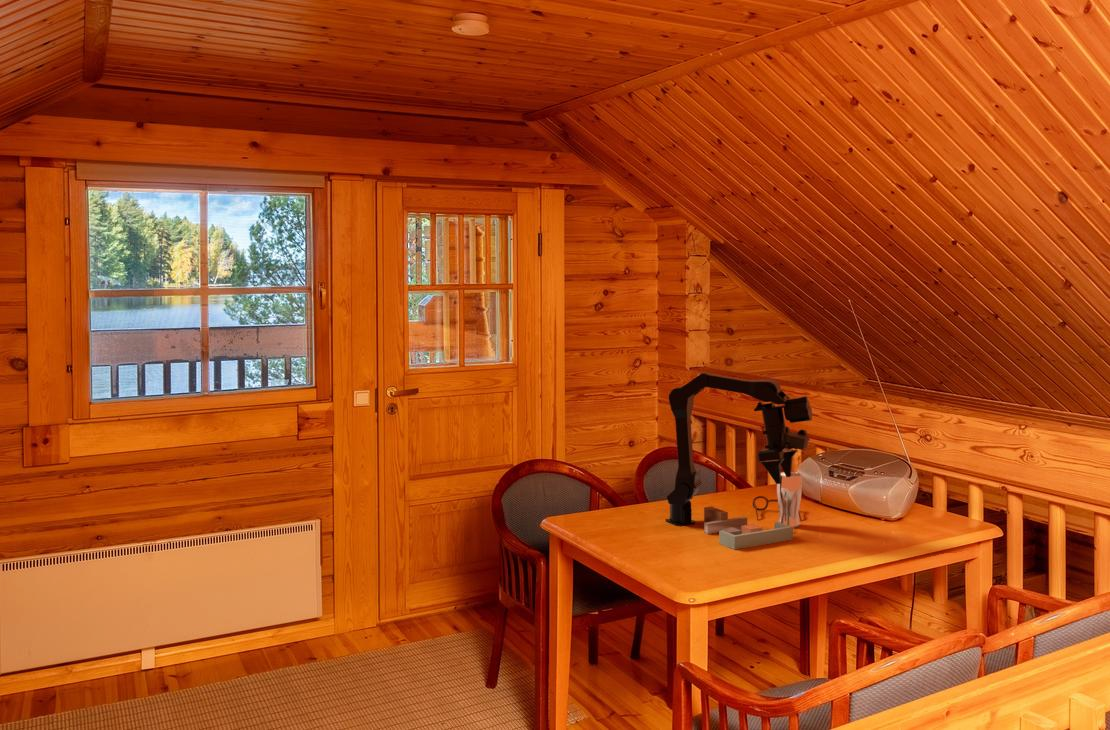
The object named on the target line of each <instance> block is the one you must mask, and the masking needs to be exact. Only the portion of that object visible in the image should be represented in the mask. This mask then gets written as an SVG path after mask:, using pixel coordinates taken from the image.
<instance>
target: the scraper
mask: <svg viewBox="0 0 1110 730" xmlns="http://www.w3.org/2000/svg"><path fill="white" fill-rule="evenodd" d="M703 509H704V510H703V511H704V513H703V515H704V516H703V520H704V521H703V526H704V527H703V532H704V534H705V535H712V533H713V534H718V533H717V532H719V531H721V529H725V528H732V527H733V528H736V529H739V530H741V526H744V525H748V517H746V516H740V517H734V518H729V516H728V515H729V513H728V511H725V510H723V509H720V508H716V507H714V506H705V507H704V508H703Z"/></svg>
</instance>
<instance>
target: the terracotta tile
mask: <svg viewBox="0 0 1110 730" xmlns="http://www.w3.org/2000/svg"><path fill="white" fill-rule="evenodd" d="M740 530H742V534H746V533H752V532H758V531H763V527H762V526H760V525H758V524H757V525H756V524H754V523H752V524H747V525H744V526H741V529H740Z"/></svg>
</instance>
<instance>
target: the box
mask: <svg viewBox="0 0 1110 730" xmlns="http://www.w3.org/2000/svg"><path fill="white" fill-rule="evenodd" d="M773 523H774V527H773V529H772V528H771V529H766V530H762V531H758V532H752V533H746V534H740V535H733V534H731V533H728V532H725V531H719V533H718V535H719V536H718V543H719V544H720V545H721V546H724V547H727V548H729V549H732V550H734V551H735V550H740V549H747V548H752V547H758V546H763V545H764V546H765V545H770V544H776V543H779V542H780V543H782V542H787V540H788V541H793V540H794V528H793V527H792V526H789V525H786V524H783V523H780V522H778V521H774V522H773Z"/></svg>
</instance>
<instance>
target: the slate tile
mask: <svg viewBox="0 0 1110 730" xmlns="http://www.w3.org/2000/svg"><path fill="white" fill-rule="evenodd" d="M721 531H725V532H728V533H731V534H733V535H740V534H742V530H741V529H736V528H733V527H732V528H725V529H721Z"/></svg>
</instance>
